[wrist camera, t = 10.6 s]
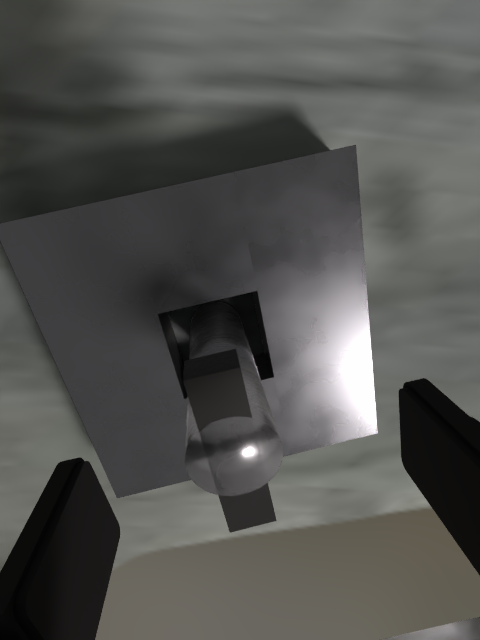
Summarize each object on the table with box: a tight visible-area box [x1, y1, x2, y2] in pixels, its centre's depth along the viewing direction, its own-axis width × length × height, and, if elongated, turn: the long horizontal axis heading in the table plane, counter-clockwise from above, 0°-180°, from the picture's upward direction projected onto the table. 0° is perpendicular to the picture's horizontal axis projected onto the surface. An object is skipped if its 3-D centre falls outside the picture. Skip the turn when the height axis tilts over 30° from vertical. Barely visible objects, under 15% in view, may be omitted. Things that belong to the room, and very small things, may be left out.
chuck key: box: [183, 302, 283, 532], centre depth 16 cm, size 3×6×11 cm, turn 12°
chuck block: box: [0, 145, 377, 498], centre depth 20 cm, size 16×16×3 cm
